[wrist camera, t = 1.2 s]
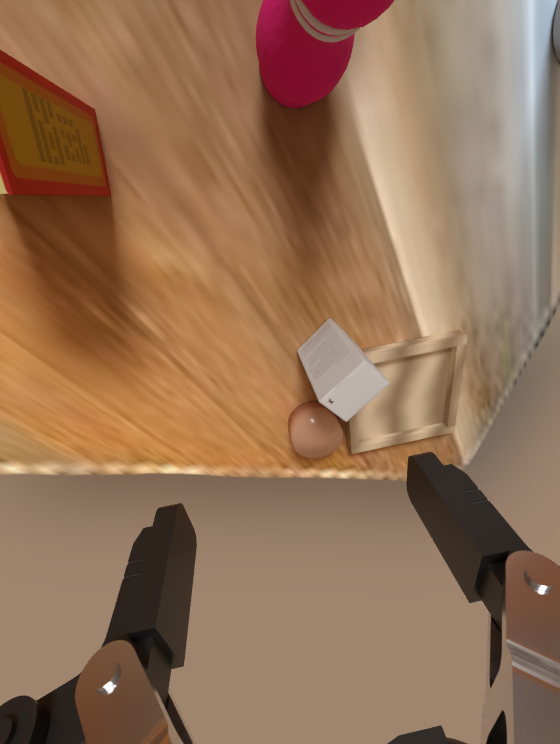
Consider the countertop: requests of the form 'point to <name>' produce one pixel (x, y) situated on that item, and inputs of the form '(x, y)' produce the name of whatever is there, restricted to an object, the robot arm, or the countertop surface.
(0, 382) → the countertop surface
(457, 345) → the maple tray
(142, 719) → the robot arm
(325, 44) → the pepper mill
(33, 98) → the baking soda box
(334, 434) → the tan rounded blob
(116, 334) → the countertop surface
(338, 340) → the skincare box
